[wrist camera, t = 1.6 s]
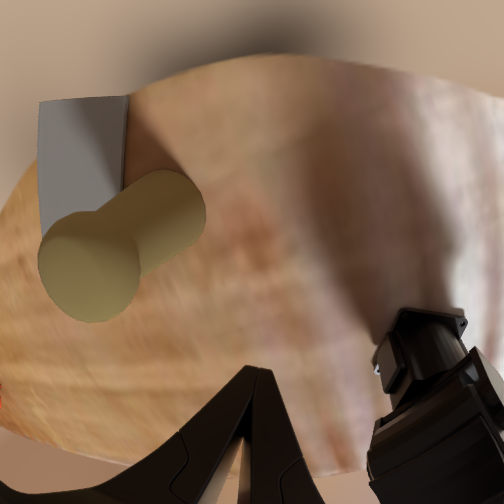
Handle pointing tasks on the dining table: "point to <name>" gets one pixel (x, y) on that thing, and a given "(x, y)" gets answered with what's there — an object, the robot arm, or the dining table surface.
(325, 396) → the dining table surface
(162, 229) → the cork
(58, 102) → the mat
